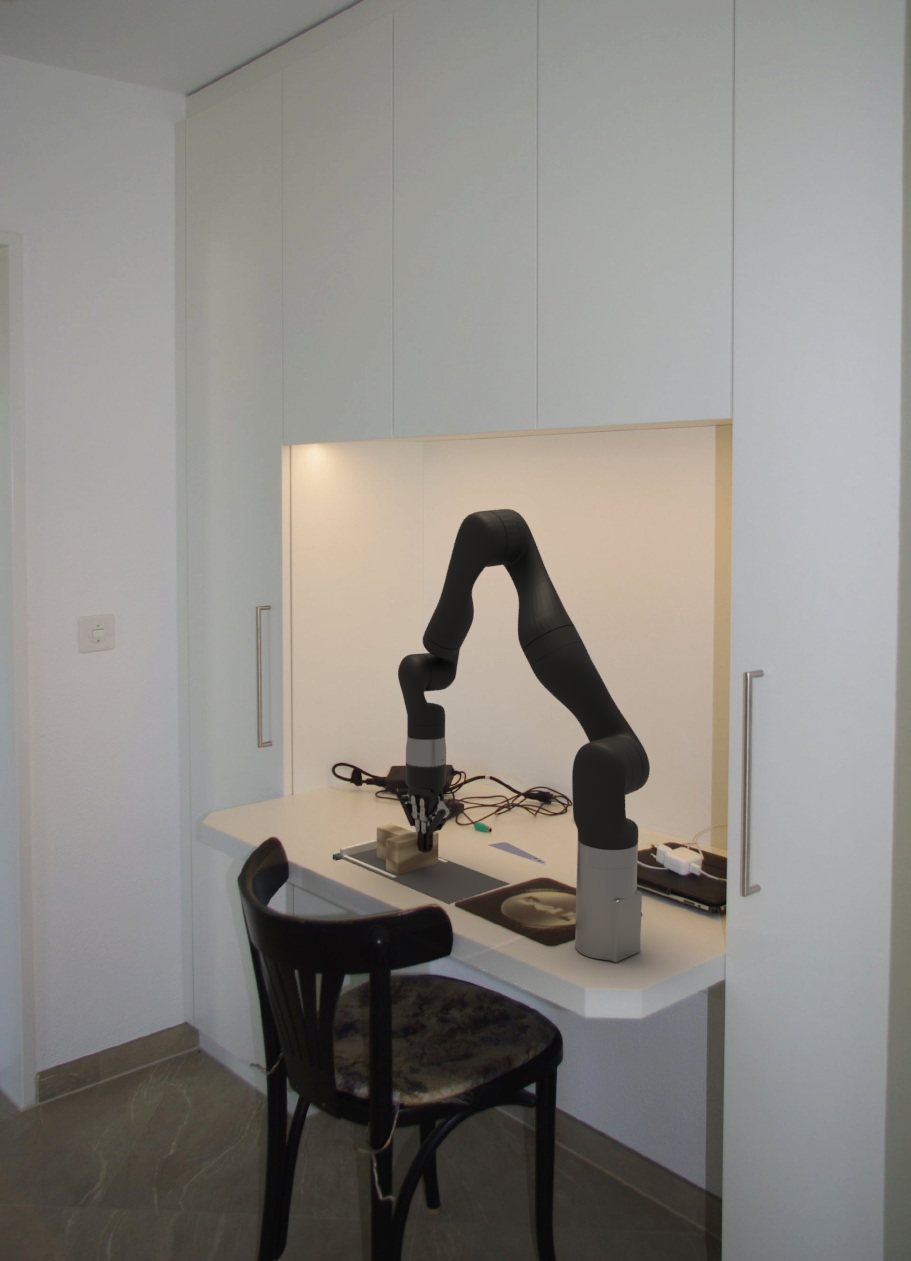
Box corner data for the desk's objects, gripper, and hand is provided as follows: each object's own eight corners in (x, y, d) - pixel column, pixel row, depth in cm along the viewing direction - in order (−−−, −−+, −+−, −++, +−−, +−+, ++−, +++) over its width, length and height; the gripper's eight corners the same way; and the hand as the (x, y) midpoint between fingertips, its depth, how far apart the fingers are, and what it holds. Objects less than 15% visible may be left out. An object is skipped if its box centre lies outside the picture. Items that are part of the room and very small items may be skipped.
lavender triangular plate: (506, 840, 206) (548, 861, 193) (506, 845, 206) (548, 866, 193) (474, 845, 202) (516, 867, 189) (474, 850, 202) (516, 872, 190)
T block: (438, 863, 191) (438, 832, 190) (397, 875, 184) (398, 843, 184) (403, 849, 199) (403, 820, 198) (363, 860, 192) (363, 830, 191)
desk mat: (509, 888, 180) (510, 875, 180) (448, 908, 170) (448, 895, 170) (392, 843, 205) (392, 832, 205) (332, 858, 195) (332, 847, 195)
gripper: (465, 763, 182) (463, 855, 183) (418, 751, 191) (417, 838, 193) (434, 770, 177) (433, 864, 178) (387, 756, 186) (387, 846, 188)
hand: (425, 851), depth 186 cm, fingers closed
